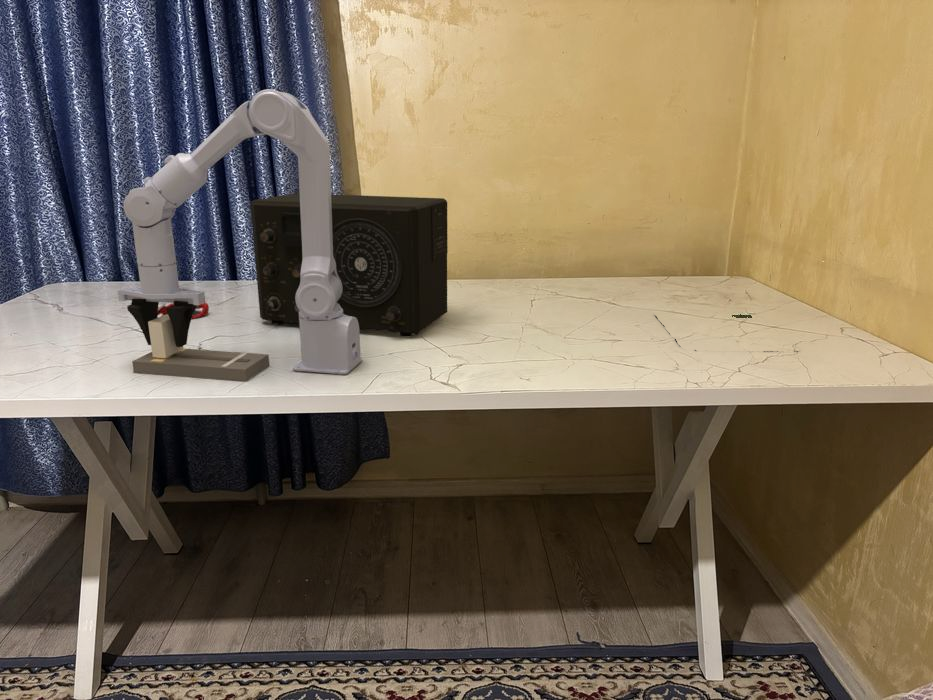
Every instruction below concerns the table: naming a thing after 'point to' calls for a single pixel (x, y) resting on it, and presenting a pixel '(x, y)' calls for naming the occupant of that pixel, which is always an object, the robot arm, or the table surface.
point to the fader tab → (162, 337)
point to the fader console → (204, 364)
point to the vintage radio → (359, 259)
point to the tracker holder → (204, 311)
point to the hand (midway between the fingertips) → (167, 344)
